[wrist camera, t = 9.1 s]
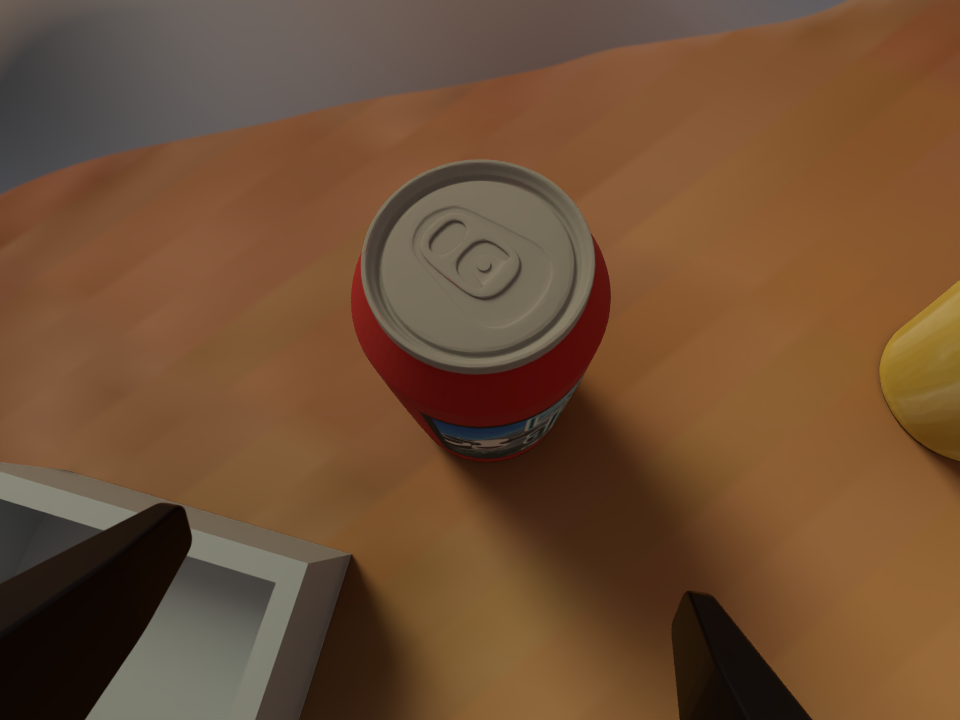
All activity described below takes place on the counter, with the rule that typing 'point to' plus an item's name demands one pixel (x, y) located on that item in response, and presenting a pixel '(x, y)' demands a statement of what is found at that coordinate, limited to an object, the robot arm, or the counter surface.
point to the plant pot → (927, 375)
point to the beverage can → (481, 304)
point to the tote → (190, 602)
